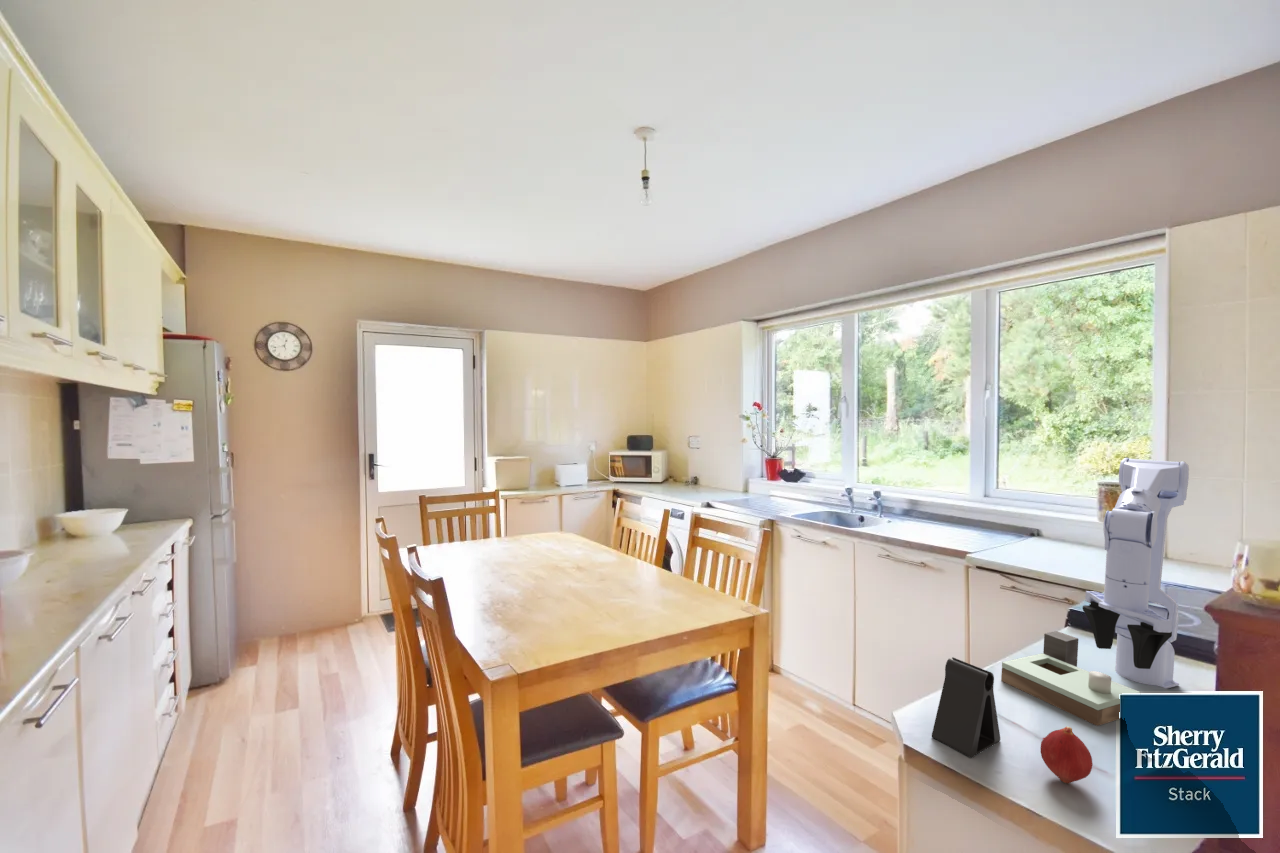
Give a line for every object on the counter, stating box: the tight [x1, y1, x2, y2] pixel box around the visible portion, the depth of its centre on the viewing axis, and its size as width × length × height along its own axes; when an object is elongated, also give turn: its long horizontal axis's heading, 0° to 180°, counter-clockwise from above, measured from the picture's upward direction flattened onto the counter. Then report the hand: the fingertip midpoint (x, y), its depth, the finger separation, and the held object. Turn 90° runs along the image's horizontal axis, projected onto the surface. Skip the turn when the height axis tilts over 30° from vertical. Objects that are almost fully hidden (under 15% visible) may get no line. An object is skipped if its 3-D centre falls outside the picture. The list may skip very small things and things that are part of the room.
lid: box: [1001, 653, 1141, 710], centre depth 100 cm, size 12×16×4 cm
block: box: [1042, 630, 1079, 667], centre depth 111 cm, size 4×4×8 cm
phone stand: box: [931, 656, 1001, 759], centre depth 87 cm, size 9×6×12 cm, turn 121°
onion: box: [1040, 726, 1093, 784], centre depth 78 cm, size 6×6×8 cm
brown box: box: [1000, 663, 1120, 727], centre depth 100 cm, size 12×16×4 cm
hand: (1122, 657), depth 95 cm, fingers open, 7 cm apart
